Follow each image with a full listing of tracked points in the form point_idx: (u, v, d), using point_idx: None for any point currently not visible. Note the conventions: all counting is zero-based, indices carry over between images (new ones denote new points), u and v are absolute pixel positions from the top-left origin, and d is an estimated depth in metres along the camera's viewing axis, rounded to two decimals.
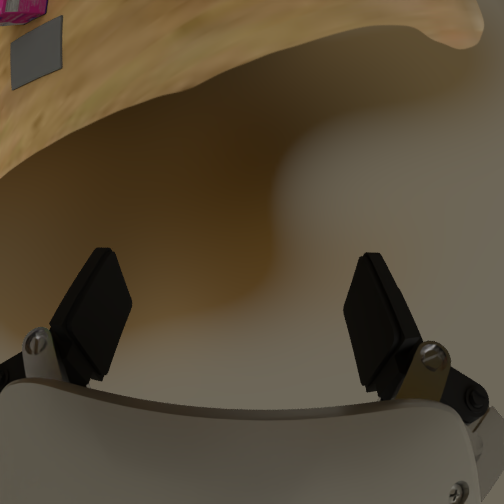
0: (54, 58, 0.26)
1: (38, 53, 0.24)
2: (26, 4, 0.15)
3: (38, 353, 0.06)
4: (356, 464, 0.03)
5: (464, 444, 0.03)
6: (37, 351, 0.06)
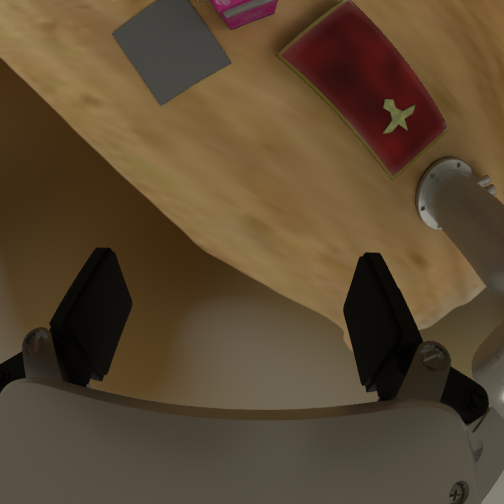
0: (169, 88, 0.28)
1: (170, 54, 0.25)
2: (241, 16, 0.19)
3: (38, 353, 0.06)
4: (356, 464, 0.03)
5: (464, 444, 0.03)
6: (37, 351, 0.06)
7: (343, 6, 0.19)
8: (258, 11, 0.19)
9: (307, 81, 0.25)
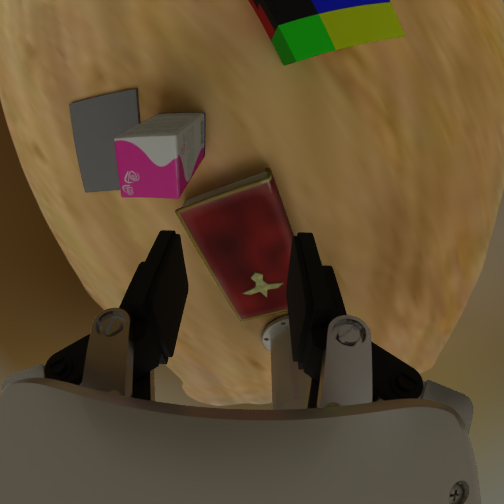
0: (95, 183, 0.33)
1: (104, 155, 0.30)
2: None
3: (108, 336, 0.07)
4: (356, 464, 0.03)
5: (464, 444, 0.03)
6: (108, 332, 0.07)
7: (259, 187, 0.30)
8: None
9: (193, 240, 0.35)
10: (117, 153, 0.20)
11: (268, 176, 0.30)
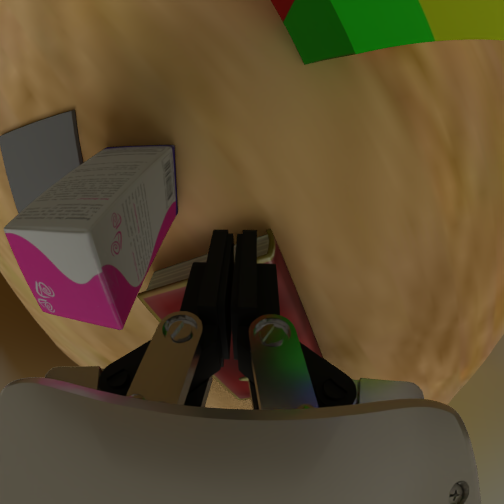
0: None
1: None
2: None
3: (174, 341, 0.07)
4: (356, 464, 0.03)
5: (464, 444, 0.03)
6: (175, 337, 0.07)
7: None
8: None
9: None
10: (14, 252, 0.09)
11: (269, 251, 0.19)
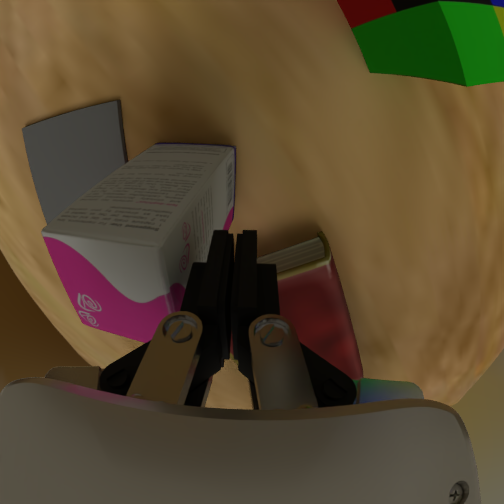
0: None
1: None
2: None
3: (174, 341, 0.07)
4: (356, 464, 0.03)
5: (464, 444, 0.03)
6: (175, 337, 0.07)
7: (313, 272, 0.19)
8: None
9: None
10: (53, 259, 0.09)
11: (327, 254, 0.19)
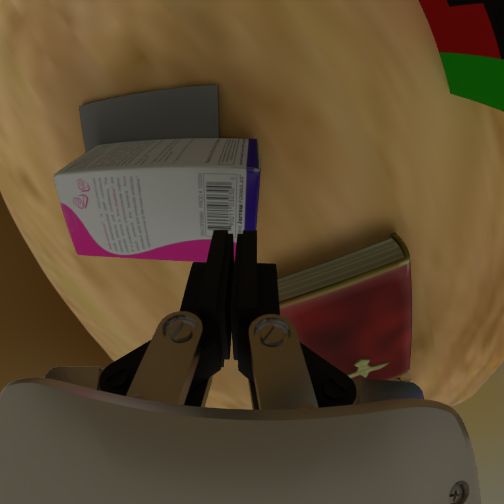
0: None
1: None
2: None
3: (174, 341, 0.07)
4: (356, 464, 0.03)
5: (464, 444, 0.03)
6: (175, 337, 0.07)
7: (395, 271, 0.19)
8: None
9: None
10: None
11: (406, 254, 0.19)
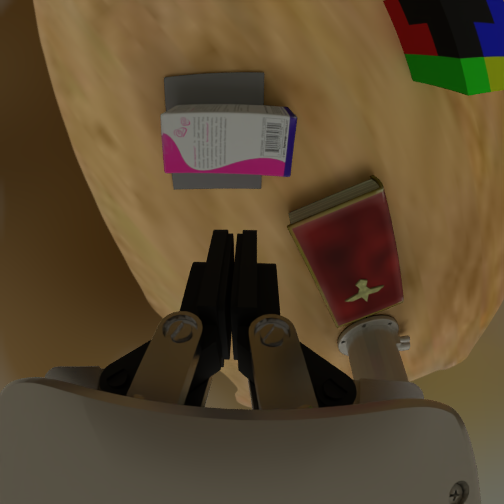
0: (190, 178, 0.30)
1: None
2: None
3: (174, 341, 0.07)
4: (356, 464, 0.03)
5: (464, 444, 0.03)
6: (175, 337, 0.07)
7: (374, 197, 0.28)
8: None
9: (303, 255, 0.33)
10: None
11: (381, 185, 0.28)
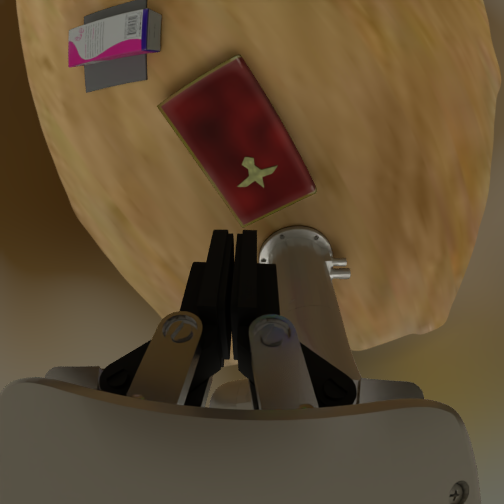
0: (97, 81, 0.29)
1: None
2: (116, 58, 0.26)
3: (174, 341, 0.07)
4: (356, 464, 0.03)
5: (464, 444, 0.03)
6: (175, 337, 0.07)
7: (229, 65, 0.27)
8: (115, 57, 0.25)
9: (177, 132, 0.32)
10: None
11: None
